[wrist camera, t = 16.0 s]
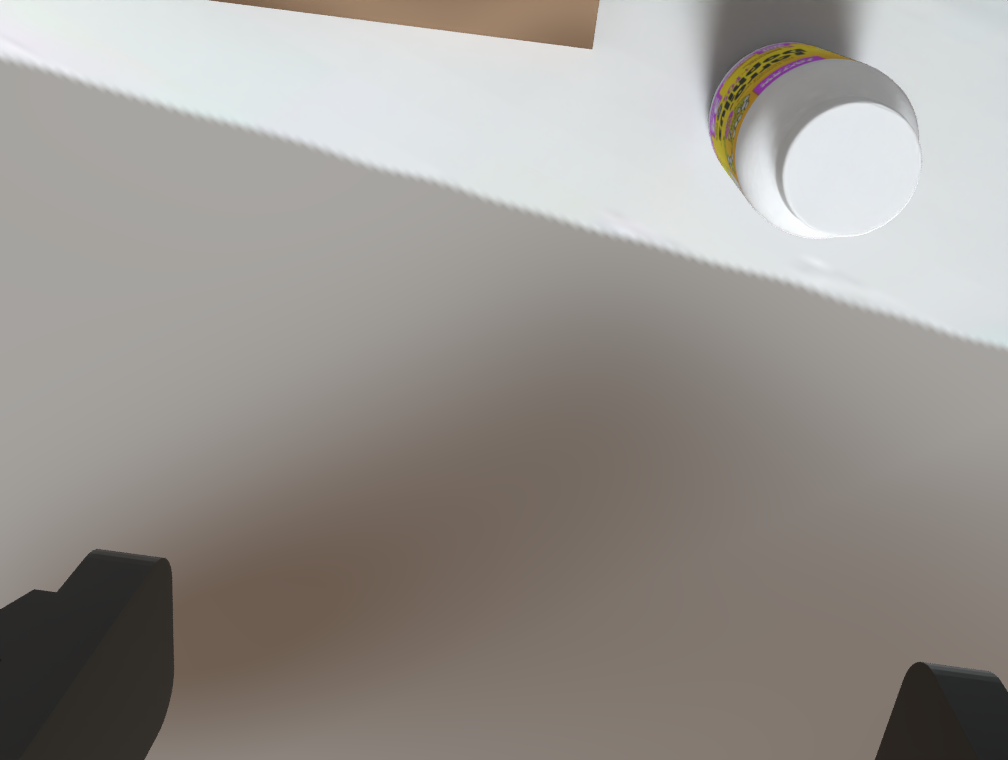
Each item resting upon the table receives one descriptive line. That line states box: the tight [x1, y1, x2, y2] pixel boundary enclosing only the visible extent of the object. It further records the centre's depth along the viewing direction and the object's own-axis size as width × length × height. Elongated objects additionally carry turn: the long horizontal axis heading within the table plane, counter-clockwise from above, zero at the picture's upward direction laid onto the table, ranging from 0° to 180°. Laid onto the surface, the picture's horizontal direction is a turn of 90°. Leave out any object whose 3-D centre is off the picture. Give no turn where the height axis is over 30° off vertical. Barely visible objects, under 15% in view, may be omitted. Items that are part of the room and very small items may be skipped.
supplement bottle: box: [709, 42, 922, 239], centre depth 39 cm, size 7×7×13 cm
